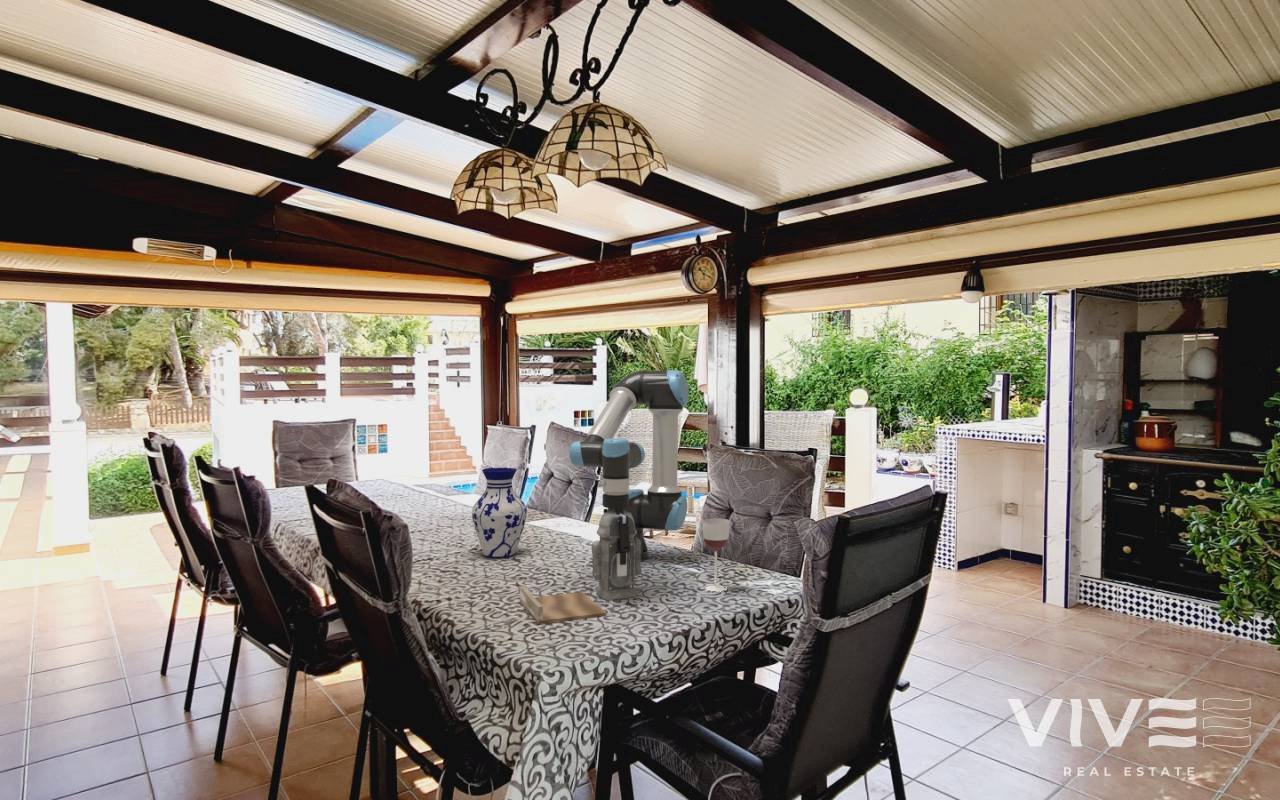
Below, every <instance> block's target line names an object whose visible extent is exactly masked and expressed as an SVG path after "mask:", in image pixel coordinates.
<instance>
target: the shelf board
mask: <svg viewBox="0 0 1280 800" xmlns="http://www.w3.org/2000/svg"><path fill="white" fill-rule="evenodd" d="M519 602H520V605H522V606H523V608H524V609H525V610H526V611H527V613H528V614H529V615H530V616H531V617H532V619H533V620H534V621H535V623H536V624H537V625H543V624H551V623H558V622H566V621H574V620H576V621H577V620H581V619H583V620H584V619H590V618H598V617H605V616H606V617H607V612H606V611H605V610H604V609H603V608H601V606H599V605H598V604H597V603H596V602H595V601H593V600H592V599H591V598H590V597H589V596H588V595H587V594H585V593H584V592H583V591H582V592H571V593H562V594H554V595H544V596H543V595H542V596H536V597H535V596H534V595H533V594H532V593H531V592H530V591H529V590H528V588H527V587H526V586H524V585H521V586H519Z"/></svg>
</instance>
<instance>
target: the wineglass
mask: <svg viewBox="0 0 1280 800" xmlns="http://www.w3.org/2000/svg"><path fill="white" fill-rule="evenodd" d="M701 522H702V523H701V525H702V527H701V528H702V536H703V538H702V539H703V542H704V543H705V545H706V546H707V547H708V548H709V549H711V550H712V551H713V552H714V553H713V554H714V559H713V561H714V563H713V565H714V566H713V567H714V568H713V569H714V573H713V575H714V578H713V579H714V580H713V583H714V584H713V585H714V586H713V585H707V586H708V587H706V586H705V587H706V589H707V590H710V591H720V592H721V591H723V590H724V589H725V588H724V587H725V586H723V587H722V585H718V551H719V550H721V549H723V548H724V547H725V546H726V544H727V543H728V541H729V537H730V520H729V519H727V518H726V519H725V518H715V517H714V518H711V517H710V518H705V519H702V520H701ZM721 593H722V592H721Z"/></svg>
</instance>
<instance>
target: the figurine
mask: <svg viewBox="0 0 1280 800" xmlns="http://www.w3.org/2000/svg"><path fill="white" fill-rule="evenodd" d="M623 511H624V516H628V528H629V540H630V552H627V576H617V554H616V551H618V547H617V538H620V537H619V522H618V520H619V516H620V515H617V514H616V512H615V511H614V510H609V511H607V512H605V513H604V512H603V514H602V515H601V517H600V519H599V525H598V529H596V530H597V531H596V535H598V536H599V540H595V541H594V542H593V543H592V544H591V554H592V558H591V559H592V561H591V562H592V572H591V575H592V577H593V579H594V581H598V584H599V585H598V586H597V587H596V588H595V594H596V595H597V596H598V597H599V598H600V599H602V600H605V601H612V600H620V599H629V598H630V599H631V598H636V596H637V589H636V588H635V577H637V576H640V574H641V572H642V563H641V562H642V561H641V541H640V540H639V539H638V538H637V537H634V536H635V535H636V534H637V531H636V528H635V523H634V519H633V516H632V514H631V512H627V511H625V510H623ZM619 514H622V513H619Z"/></svg>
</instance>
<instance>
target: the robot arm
mask: <svg viewBox="0 0 1280 800" xmlns="http://www.w3.org/2000/svg"><path fill="white" fill-rule="evenodd" d="M689 391H690V390H689V383H688V381H687V379H686V376H685V374H684V373H683V372H682V371H680V370H672V369H668V370H667V369H665V370H663V369H662V370H661V369H660V370H659V369H658V370H637V371H634V372H631V373H629V374H628V375H625V377H624V376H623V378H622V379H620V380H619V381H618V382H617V383H616V384H615V385H614V386H613V387H612V389H611V391H610V392H609V399H608V402H607V403H606V404H605V405H604V408H603V409H602V411H601V412H600V414H599V416H598V417H597V419H596V420H595V422H594V424H593V426H592V427H591V428H590V430H589V431H588V433H587V435H586V436H585V438H584V440H582V441H581V440H578V441H574V442H572V444H571V445H570V446H569V447H570V448H569V452H568V453H569V459H570V463H571V464H572V465H574V466H578V467H583V468H585V467H586V468H587V467H588V468H602V481H601V482H600V485H601V486H602V492H604V493H603V494H602V507H603V514H604V513H605V512H607V511H609V510H614V511H615V512H616V514H617V515H620V516H619V520H618V522H619V537H620V538H617V547H618V551H616V554H617V576H627V552H630V540H629V528H628V516H624V511H623V510H625V511H627V512H631V514H632V516H633V519H634V523H635V528H636V531H637V534H636V535H635V536H634V537H637V538H638V539H639V540H640V541H641V562H642V561H645V560H646V559H648V558H649V549H648V545H647V542H646V539H645V536H644V529H645V530H661V531H665V532H668V531H678V530H680V529H681V528H682V527H683V525H684V523H685V520H686V516H687V512H688V499H687V497H686V496H684V495H683V493H682V492H683V491H682V489H681V488H680V487H679V486H678V465H679V464H678V462H679V461H678V459H679V456H678V453H679V450H678V449H679V415H680V413H682V412H683V410H684V408H683V407H684V406H686V405H688V403H689V397H690V394H689V393H690V392H689ZM638 405H648V411H649V412H650V413H651V414H652V457H651V458H652V459H651V460H652V463H651V466H652V467H651V468H652V471H651V473H652V474H651V478H652V479H651V480H652V481H651V486H650V487H649V488H648V489H647V494H645V492H644V490H643V489H640V488H635V489H633V488H632V489H630V469H634V468H637V467H638V466H640V465H642V464H643V462H644V460H645V457H646V452H645V449H644V447H643V446H642V445H641V444H640V443H639V442H635V441H629V440H628V439H627V438H623V437H622V438H619V437H618V438H617V437H616V438H615V436H616V434H617V432H618V430H619V429H620V427H621V426H622V424H623V422H624V421H625V419H626V416H627V415H628V413H629V412H631V411H632V410H634V409H635V407H636V406H638ZM619 513H622V514H619Z"/></svg>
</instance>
